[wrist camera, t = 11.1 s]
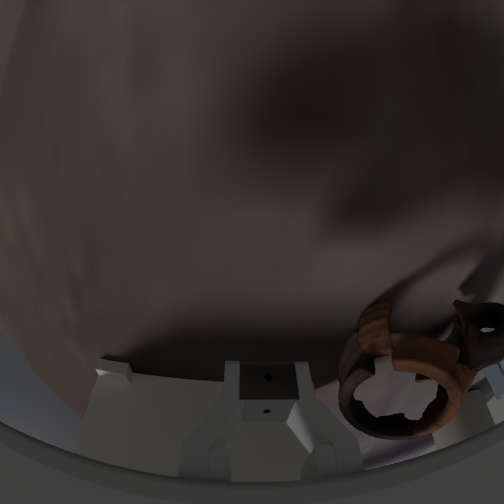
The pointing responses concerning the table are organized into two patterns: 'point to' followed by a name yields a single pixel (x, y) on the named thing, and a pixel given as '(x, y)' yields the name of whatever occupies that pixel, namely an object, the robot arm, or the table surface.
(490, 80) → the table surface
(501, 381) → the handle
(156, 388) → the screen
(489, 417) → the travel mug
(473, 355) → the pottery mug
